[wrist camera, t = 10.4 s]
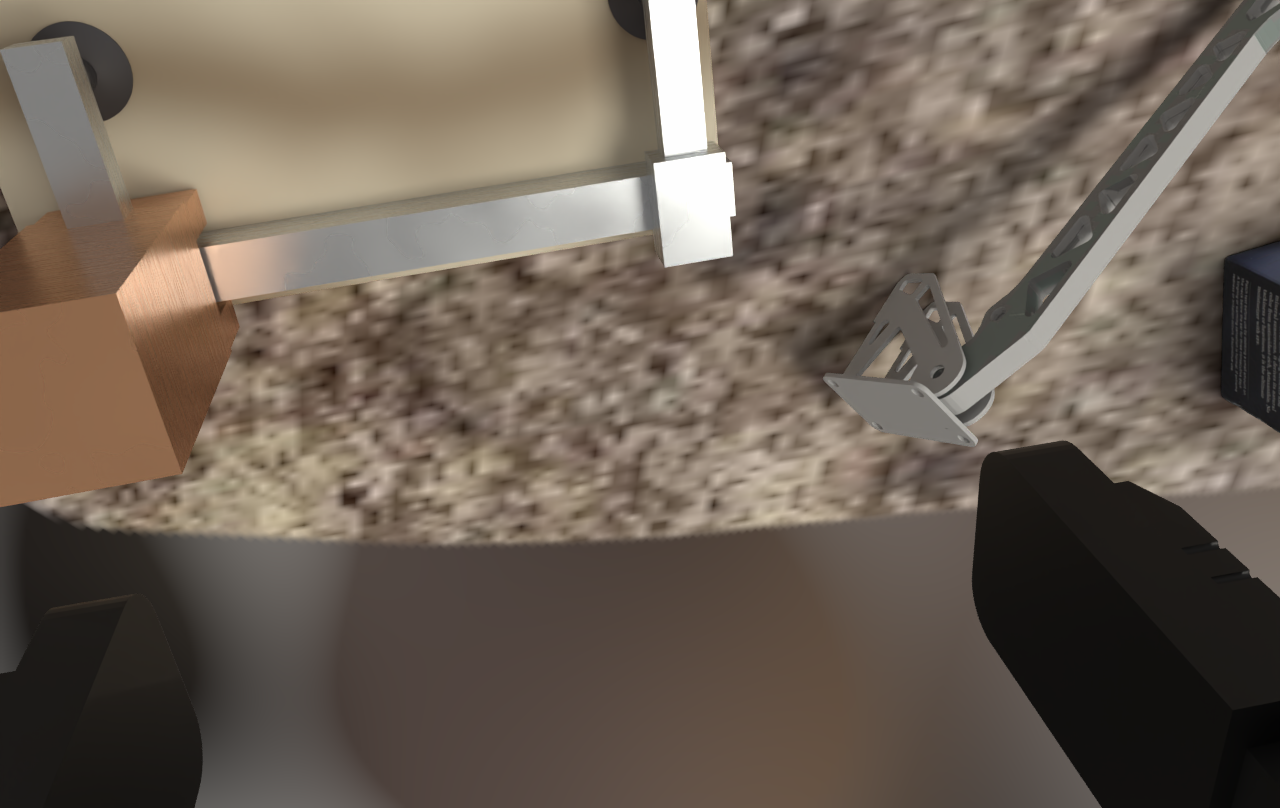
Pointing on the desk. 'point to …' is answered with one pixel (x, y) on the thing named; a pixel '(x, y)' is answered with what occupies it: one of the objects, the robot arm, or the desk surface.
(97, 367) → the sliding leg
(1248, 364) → the small box
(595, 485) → the desk surface
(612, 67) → the bolt plate
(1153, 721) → the robot arm
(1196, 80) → the bracket
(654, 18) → the divider beam
